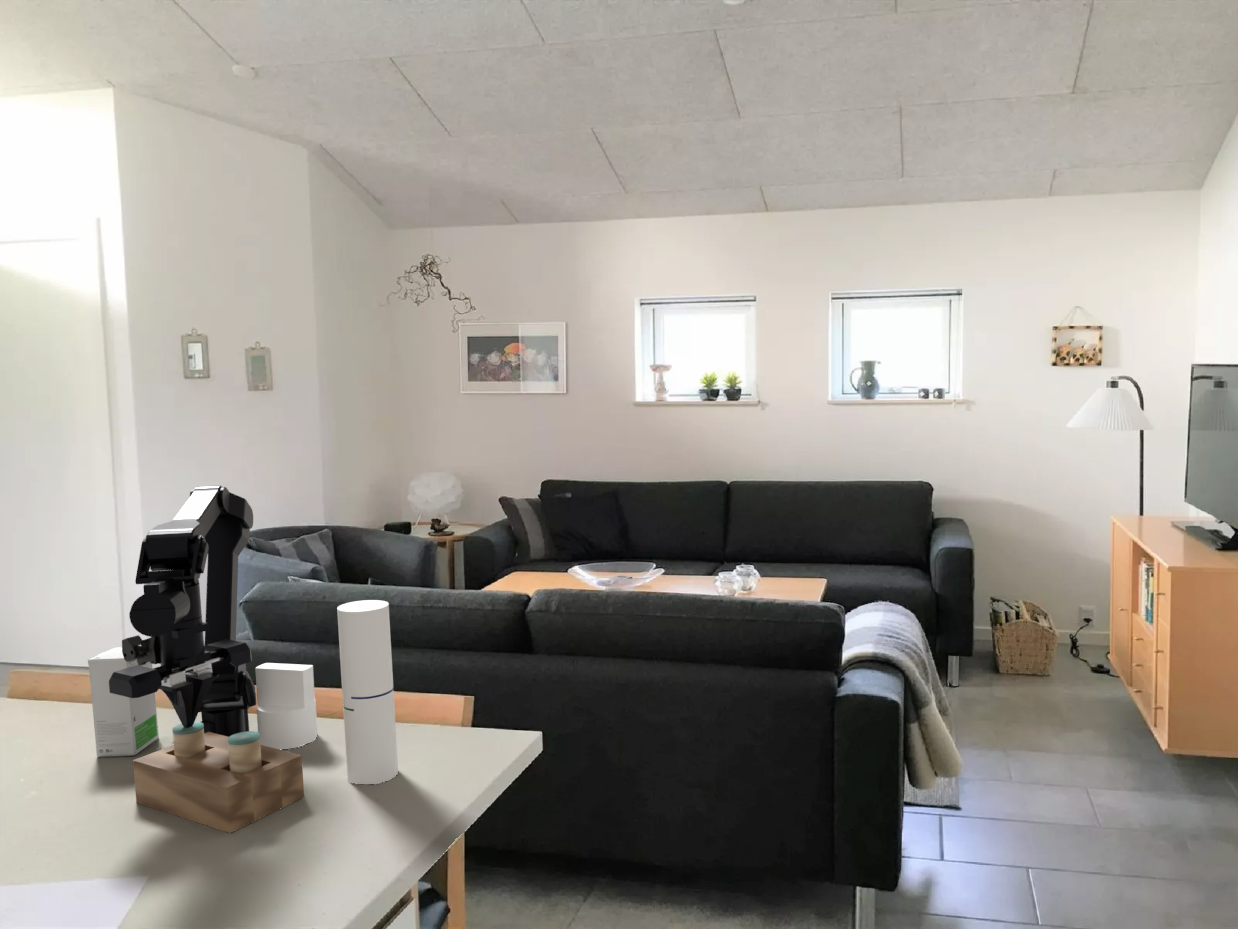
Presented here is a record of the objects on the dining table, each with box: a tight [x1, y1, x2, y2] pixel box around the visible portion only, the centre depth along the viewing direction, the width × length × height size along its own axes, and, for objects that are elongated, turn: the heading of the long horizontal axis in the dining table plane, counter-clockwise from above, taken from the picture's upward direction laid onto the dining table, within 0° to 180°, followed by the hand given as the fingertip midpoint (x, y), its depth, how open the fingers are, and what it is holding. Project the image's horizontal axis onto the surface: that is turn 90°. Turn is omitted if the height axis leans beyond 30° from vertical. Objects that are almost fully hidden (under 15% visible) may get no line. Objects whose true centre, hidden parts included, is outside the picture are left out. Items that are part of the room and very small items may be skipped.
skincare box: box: [87, 646, 160, 758], centre depth 157 cm, size 8×7×16 cm
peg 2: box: [228, 730, 262, 775], centre depth 133 cm, size 4×4×6 cm
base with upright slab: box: [255, 662, 318, 750], centre depth 158 cm, size 9×9×12 cm
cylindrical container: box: [336, 599, 399, 785], centre depth 142 cm, size 7×7×25 cm
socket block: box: [132, 732, 305, 834], centre depth 137 cm, size 12×20×6 cm, turn 59°
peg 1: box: [171, 721, 205, 759], centre depth 139 cm, size 4×4×6 cm
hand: (188, 726), depth 139 cm, fingers closed, pressing on peg 1
